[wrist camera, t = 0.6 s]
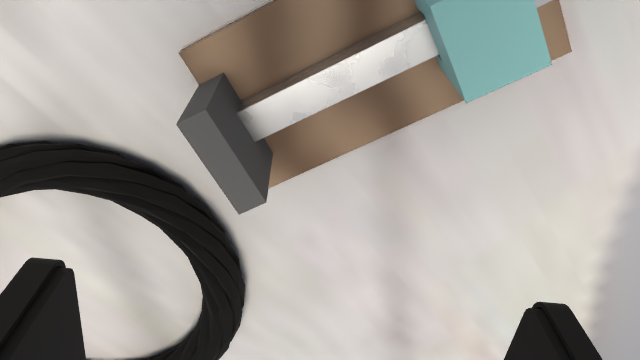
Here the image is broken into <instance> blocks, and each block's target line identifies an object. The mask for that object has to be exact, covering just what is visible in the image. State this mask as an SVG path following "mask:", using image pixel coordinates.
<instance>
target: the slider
mask: <svg viewBox="0 0 640 360" xmlns="http://www.w3.org/2000/svg"><path fill="white" fill-rule="evenodd" d="M414 1H415V4H416V7H417V8H418V9H419V10H420V11H421V12H422V13H423V14H424V16H425V18H426V21H427V23H428V26H429V28H430V31H431V34H432V36H433V39H434V41H435V44H436V47H437V49H438V52H439V55H437V56H436V58H437V60H438V63H439V65H440V68H441V70H442V71H443V73H444V74H445V75H446V77H447V78H448V79H449V81H450V82H451V83H452V85H453V86H454V87H455V89H456V90H457V91H458V92H459V94H460V95H461V96H462V98H463V99H464V100H465V102H466V103H468V102H470V101H472V100H474V99H476V98H479V97H481V96H483V95H485V94H488V93H490V92H492V91H494V90H496V89H499V88H501V87H503V86H505V85H508V84H510V83H512V82H514V81H517V80H519V79H521V78H523V77H525V76H528V75H530V74H532V73H534V72H537V71H539V70H541V69H543V68H545V67H548V66H550V65H552V62H551V59H550V55H549V51H548V48H547V44H546V41H545V37H544V33H543V30H542V26H541V23H540V19H539V15H538V12H537V8H536V4H535V1H534V0H414Z"/></svg>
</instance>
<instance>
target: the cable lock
mask: <svg viewBox="0 0 640 360" xmlns="http://www.w3.org/2000/svg"><path fill="white" fill-rule="evenodd" d="M47 189H57V190H63V191H69V192H76V193H82V194H88V195H92V196H95V197H99V198H103V199H107V200H111V201H113V202H115V203H117V204H119V205H121V206H123V207H125V208H127V209H129V210H131V211H133V212H135V213H136V214H138V215H140V216H142V217H144V218H145V219H147V220H148V221H150V222H151V223H153V224H155V225H156V226H158V227H159V228H160V229H161V230H162V231H163V232H164V233H165V234H166V235H167V236H168V237H169V238H170V239H171V240H172V241H173V242H174V243H175V244H176V245H177V246H178V247H179V248H180V249H181V250H182V251H183V252H184V253H185V254H186V256H187V257H188V258H189V260H190V263H191V265H192V267H193V269H194V271H195V273H196V275H197V277H198V279H199V281H200V283H201V288H202V294H203V300H202V311H201V314H200V318H199V321H198V324H197V326H196V327H195V329H194V330H193V331H192V332H191V333H190V334H189V336H188V337H187V338H186V339H185V340H184V341H183V342H182V343H180V344H179V345H177V346H176V347H174V348H173V349H171V350H169V351H167V352H165V353H163V354H160V355H157V356H154V357H151V358H148V359H145V360H219V359H220V358H221V356H222V355H223V354H224V353H225V352H226V351H227V349H228V348H229V344H230V342H231V341H232V339H233V337H234V335H235V334H236V332H237V330H238V328H239V326H240V322H241V317H242V308H243V306H244V295H245V284H244V282H243V279H242V276H241V270H240V265H239V259H238V257H237V255H236V253H235V251H234V250H233V248H232V246H231V244H230V242H229V240H228V238H227V237H226V235H225V232H224V230H223V228H222V227H221V226H220V224H219V223H218V222H217V220H216V219H215V218H214V216H213V215H212V213H211V212H210V211H209V209H208V208H207V207H206V206H205V205H203V204H202V203H201V202H199V201H198V200H197V199H196V198H194V197H193V196H192V195H190V194H189V193H188V192H187V191H186V190H185V189H184V188H183V186H182V185H180V184H178V183H177V182H175V181H173V180H171V179H169V178H168V177H166V176H164V175H162V174H161V173H159V172H157V171H155V170H153V169H152V168H149V167H147V166H144V165H142V164H139V163H136V162H134V161H132V160H130V159H128V158H126V157H125V156H123V155H121V154H119V153H116V152H112V151H107V150H102V149H98V148H93V147H88V146H84V145H79V144H57V143H52V142H47V141H42V142H30V143H18V144H9V145H5V146H1V147H0V197H4V196H9V195H13V194H18V193H22V192H27V191H31V190H47Z"/></svg>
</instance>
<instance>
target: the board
mask: <svg viewBox="0 0 640 360" xmlns="http://www.w3.org/2000/svg"><path fill="white" fill-rule="evenodd" d="M419 11H420V10H419V9H418V8H417V7H416V4H415V1H414V0H274V1H272V2H270V3H268V4H266V5H264V6H263V7H261V8H259V9H257V10H255V11H253V12H251V13H250V14H248V15H246V16H244V17H242V18H240V19H238V20H236V21H235V22H233V23H231V24H229V25H227V26H225V27H223V28H222V29H220V30H218V31H216V32H214V33H212V34H210V35H209V36H207V37H205V38H203V39H201V40H199V41H197V42H196V43H194V44H192V45H190V46H188V47H186V48H184V49H182V50H181V51H180V52H179V54H180V56H181V57H182V59H183V60H184V62H185V64H186V65H187V67H188V68H189V70H190V71H191V73H192V74H193V76H194V78H195V79H196V81H197V82H198V84H199V85H200V84H202V83H204V82H206V81H208V80H210V79H212V78H214V77H216V76H218V75H219V74H221V73H223V72H224V74H225V75H226V77H227V79H228V80H229V82H230V83H231V85H232V87H233V88H234V90H235V92H236V93H237V95H238V97H239V98H240V100H243V99H245V98H247V97H249V96H251V95H253V94H255V93H257V92H259V91H261V90H263V89H265V88H267V87H269V86H271V85H273V84H275V83H277V82H279V81H281V80H283V79H285V78H287V77H289V76H291V75H293V74H295V73H297V72H299V71H301V70H303V69H305V68H307V67H309V66H311V65H313V64H315V63H317V62H319V61H321V60H323V59H325V58H327V57H329V56H331V55H333V54H335V53H337V52H339V51H341V50H343V49H345V48H347V47H349V46H351V45H353V44H355V43H357V42H359V41H361V40H363V39H365V38H367V37H369V36H371V35H373V34H375V33H377V32H379V31H381V30H383V29H385V28H387V27H389V26H391V25H393V24H395V23H397V22H399V21H401V20H403V19H405V18H407V17H409V16H411V15H413V14H415V13H417V12H419ZM537 12H538V15H539V19H540V23H541V26H542V30H543V33H544V37H545V41H546V44H547V48H548V51H549V55H550V59H551V61H552V60H554V59H556V58H558V57H561V56H563V55H565V54H567V53H569V52H572V50H571V46H570V42H569V38H568V34H567V30H566V26H565V22H564V18H563V14H562V11H561V7H560V3H559V0H552V1H550V2H548V3H546V4H544V5H542V6H540V7H538V8H537ZM463 100H464V99H463V98H462V96H461V95H460V94H459V92H458V91H457V90H456V89H455V87H454V86H453V85H452V83H451V82H450V81H449V79H448V78H447V77H446V75H445V74H444V73H443V71H442V70H441V68H440V65H439V63H438V60H437V58H436V56H435V57H432V58H430V59H428V60H426V61H424V62H422V63H420V64H418V65H416V66H414V67H411V68H409V69H407V70H405V71H403V72H401V73H399V74H397V75H395V76H393V77H390V78H388V79H386V80H384V81H382V82H380V83H378V84H376V85H374V86H372V87H369V88H367V89H365V90H363V91H361V92H359V93H357V94H355V95H353V96H351V97H348V98H346V99H344V100H342V101H340V102H338V103H336V104H334V105H332V106H329V107H327V108H325V109H323V110H321V111H319V112H317V113H315V114H313V115H311V116H308V117H306V118H304V119H302V120H300V121H298V122H296V123H294V124H292V125H290V126H287V127H285V128H283V129H281V130H279V131H277V132H275V133H273V134H271V135H269V136H266V137H264V139H265V141H266V142H267V144H268V146H269V147H270V149H271V151H272V152H273V158H272V165H271V172H270V179H269V186H268V188H270V187H273V186H275V185H277V184H279V183H281V182H284V181H286V180H288V179H290V178H292V177H295V176H297V175H299V174H301V173H304V172H306V171H308V170H310V169H312V168H315V167H317V166H319V165H321V164H323V163H326V162H328V161H330V160H332V159H335V158H337V157H339V156H341V155H343V154H346V153H348V152H350V151H352V150H354V149H357V148H359V147H361V146H363V145H366V144H368V143H370V142H372V141H374V140H377V139H379V138H381V137H383V136H386V135H388V134H390V133H392V132H394V131H397V130H399V129H401V128H403V127H405V126H408V125H410V124H412V123H414V122H417V121H419V120H421V119H423V118H425V117H428V116H430V115H432V114H434V113H436V112H439V111H441V110H443V109H445V108H448V107H450V106H452V105H454V104H456V103H459V102H461V101H463Z"/></svg>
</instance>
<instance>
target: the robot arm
mask: <svg viewBox="0 0 640 360" xmlns="http://www.w3.org/2000/svg"><path fill="white" fill-rule="evenodd" d="M0 360H86V356H85V349H84V342H83V335H82V327H81V320H80V313H79V306H78V298H77V291H76V284H75V277H74V272H73V270H72V269H71V268H66V266H65V263H64V262H63V261H62V260H54V259H43V258H30V259H28V260H27V261H26V262H25V264H24V265H23V266H22V267H21V269H20V270H19V271H18V273H17V274H16V275H15V276H14V278H13V279H12V280H11V282H10V283H9V284H8V285H7V287H6V288H5V289H4V291H3V292H2V293H1V294H0ZM504 360H602V358H601V356H600V355H599V353H598V352H597V350H596V349H595V347H594V346H593V344H592V342H591V341H590V339H589V337H588V336H587V334H586V333H585V331H584V330H583V328H582V326H581V325H580V323H579V322H578V320H577V319H576V317H575V315H574V314H573V312H572V311H571V309H570V308H569V307H568V306H567V305H565V304H558V303H547V302H537V303H535V304H534V305H533V307H532V308H528V309H526V311H525V312H524V314H523V317H522V319H521V321H520V324H519V326H518V328H517V331H516V333H515V335H514V337H513V340H512V342H511V344H510V347H509V349H508V351H507V354H506V356H505V358H504Z"/></svg>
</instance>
